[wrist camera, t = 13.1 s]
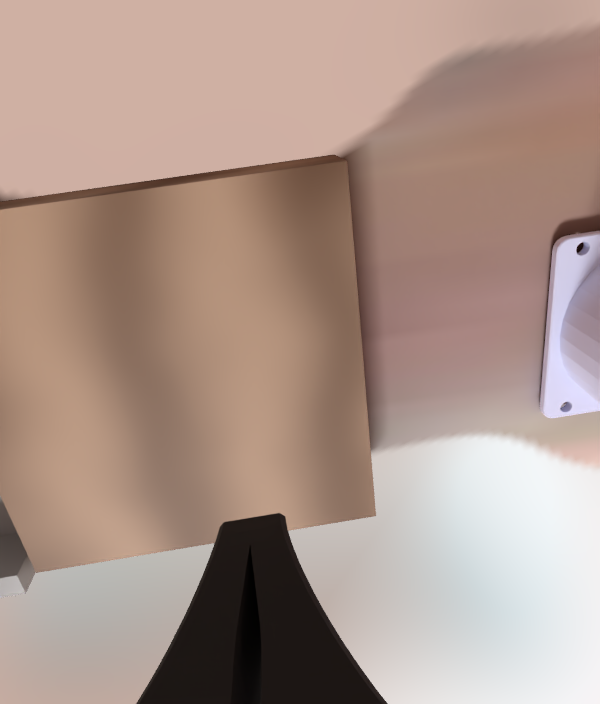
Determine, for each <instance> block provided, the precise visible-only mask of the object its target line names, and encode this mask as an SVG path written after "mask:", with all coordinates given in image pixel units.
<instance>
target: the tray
mask: <svg viewBox="0 0 600 704" xmlns="http://www.w3.org/2000/svg"><path fill="white" fill-rule="evenodd" d="M34 574H35V569H34V567H33V565H32V563H31V561H30V559H29V557H28V554H27V552H26V550H25V548H24V546H23V544H22V541H21V539H20V537H19V535H18V533H17V531H16V529H15V526H14V524H13V522H12V520H11V518H10V516H9V514H8V511H7V509H6V507H5V505H4V503H3V501H2V498H1V496H0V598H1V597H7V596H13V595H19V594H24V593H26V592H27V589H28V587H29V585H30V583H31V581H32V578H33V576H34Z"/></svg>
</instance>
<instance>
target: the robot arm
mask: <svg viewBox="0 0 600 704" xmlns="http://www.w3.org/2000/svg"><path fill="white" fill-rule="evenodd" d="M582 242H583V244H584V246H583V249H582V250H581V251H580V252H578V253H577V252H576V249H577V246H578V245H579V244H580V243H582ZM565 402H567V403H566V405H565V406H564V407H561V405H562V404H563V403H565ZM560 407H561V408H560ZM540 411H541V412H542V413H543V414H544V415H545V416H546V417H548V418H557V417H563V416H570V415H576V414H582V413H588V412H594V411H600V231H593V232H587V233H580V234H573V235H567V236H563V237H561V238H560V239H558V240H557V241H556V243H555V244H554V246H553V250H552V261H551V274H550V286H549V298H548V311H547V323H546V335H545V348H544V360H543V372H542V385H541V397H540ZM137 704H387V702H386V701H385V700H384V699H383V697H382V696H381V695H380V694H379V692H378V691H377V690H376V689H375V687H374V686H373V684H372V683H371V682H370V680H369V679H368V678H367V676H366V675H365V673H364V672H363V671H362V669H361V668H360V667H359V665H358V664H357V662H356V661H355V660H354V658H353V656H352V655H351V653H350V652H349V650H348V649H347V648H346V646H345V644H344V643H343V641H342V640H341V638H340V637H339V635H338V634H337V632H336V630H335V629H334V627H333V625H332V624H331V622H330V620H329V619H328V617H327V615H326V613H325V612H324V610H323V608H322V607H321V605H320V603H319V601H318V599H317V597H316V596H315V594H314V592H313V590H312V588H311V586H310V584H309V582H308V580H307V578H306V576H305V574H304V572H303V570H302V567H301V565H300V563H299V561H298V558H297V556H296V553H295V551H294V548H293V545H292V543H291V540H290V536H289V533H288V529H287V523H286V518H285V516H284V515H282V514H281V513H276V514H270V515H264V516H258V517H252V518H246V519H240V520H234V521H227V522H224V523H223V524H222V525H221V526H220V528H219V531H218V535H217V538H216V541H215V544H214V547H213V550H212V553H211V556H210V558H209V561H208V563H207V566H206V569H205V571H204V574H203V576H202V578H201V581H200V583H199V586H198V588H197V590H196V592H195V594H194V597H193V599H192V601H191V604H190V606H189V608H188V610H187V612H186V614H185V616H184V619H183V620H182V623H181V625H180V626H179V629H178V630H177V632H176V634H175V636H174V639H173V640H172V642H171V644H170V646H169V648H168V650H167V652H166V654H165V656H164V657H163V659H162V661H161V663H160V665H159V667H158V668H157V670H156V672H155V674H154V675H153V677H152V679H151V681H150V682H149V684H148V686H147V687H146V689H145V690H144V692H143V694H142V695H141V697H140V699H139V700H138V702H137Z"/></svg>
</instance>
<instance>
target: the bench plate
mask: <svg viewBox="0 0 600 704" xmlns="http://www.w3.org/2000/svg"><path fill="white" fill-rule="evenodd" d="M0 496H1V498H2V501H3V503H4V505H5V507H6V509H7V511H8V514H9V516H10V518H11V520H12V522H13V524H14V526H15V529H16V531H17V533H18V535H19V537H20V539H21V541H22V544H23V546H24V548H25V550H26V552H27V554H28V557H29V559H30V561H31V563H32V565H33V567H34V569H35V572H36V573H38V572H44V571H50V570H56V569H62V568H68V567H74V566H80V565H85V564H91V563H98V562H104V561H110V560H115V559H121V558H127V557H133V556H139V555H145V554H151V553H157V552H163V551H169V550H175V549H181V548H187V547H193V546H199V545H205V544H211V543H215V541H216V538H217V535H218V531H219V528H220V526H221V525H222V524H223V523H224V522H227V521H234V520H240V519H246V518H252V517H258V516H264V515H270V514H276V513H281V514H282V515H284V516H285V518H286V523H287V529H288V531H289V530H294V529H300V528H306V527H312V526H319V525H324V524H331V523H337V522H342V521H349V520H355V519H360V518H366V517H372V516H376V511H375V499H374V486H373V474H372V463H371V450H370V437H369V425H368V413H367V400H366V388H365V376H364V363H363V351H362V339H361V326H360V314H359V302H358V289H357V277H356V265H355V252H354V240H353V228H352V215H351V203H350V191H349V179H348V166H347V160H344V159H342V158H340V157H338V156H336V155H328V156H321V157H314V158H307V159H300V160H293V161H286V162H279V163H272V164H265V165H257V166H250V167H244V168H236V169H230V170H222V171H215V172H208V173H201V174H194V175H187V176H179V177H173V178H166V179H159V180H151V181H144V182H138V183H130V184H123V185H116V186H109V187H102V188H94V189H88V190H80V191H73V192H67V193H60V194H52V195H45V196H38V197H31V198H24V199H16V200H9V201H2V202H0Z"/></svg>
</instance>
